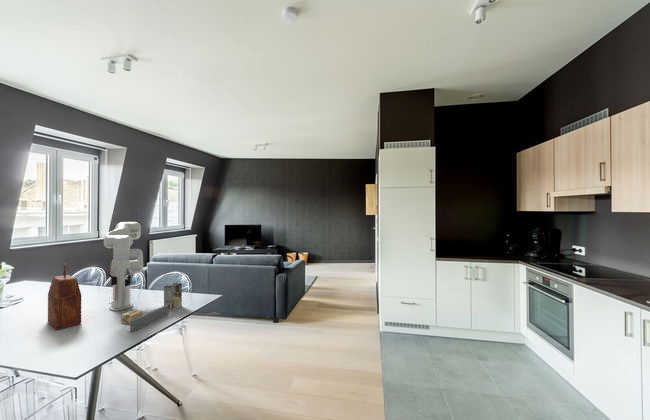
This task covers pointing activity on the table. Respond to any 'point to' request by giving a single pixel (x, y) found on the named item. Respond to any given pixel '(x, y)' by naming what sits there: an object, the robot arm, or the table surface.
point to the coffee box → (173, 296)
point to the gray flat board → (148, 318)
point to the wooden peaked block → (64, 302)
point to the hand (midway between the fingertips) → (120, 285)
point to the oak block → (130, 316)
